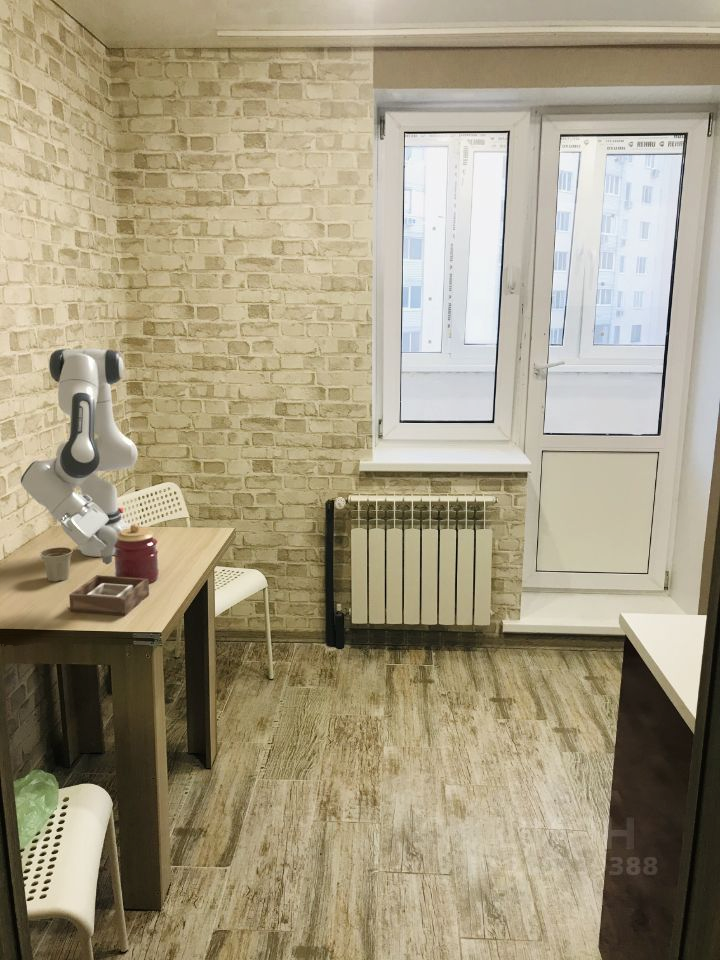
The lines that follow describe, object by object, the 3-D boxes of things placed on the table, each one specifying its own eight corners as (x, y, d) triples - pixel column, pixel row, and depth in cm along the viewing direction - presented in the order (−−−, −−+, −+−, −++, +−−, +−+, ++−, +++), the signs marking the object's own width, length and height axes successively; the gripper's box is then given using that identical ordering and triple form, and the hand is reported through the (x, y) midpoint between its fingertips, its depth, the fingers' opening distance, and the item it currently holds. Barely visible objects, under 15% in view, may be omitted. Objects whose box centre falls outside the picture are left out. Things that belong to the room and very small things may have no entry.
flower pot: (38, 584, 236) (36, 557, 234) (45, 573, 245) (43, 547, 243) (71, 583, 238) (69, 556, 236) (77, 572, 247) (75, 546, 245)
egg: (106, 559, 224) (104, 522, 222) (123, 562, 222) (121, 524, 219) (91, 565, 218) (89, 527, 216) (108, 568, 216) (106, 530, 214)
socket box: (97, 591, 231) (96, 575, 230) (149, 594, 229) (148, 578, 228) (70, 611, 216) (69, 594, 215) (125, 616, 214) (124, 598, 213)
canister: (114, 588, 234) (111, 531, 230) (115, 573, 246) (112, 519, 242) (159, 584, 238) (157, 528, 234) (158, 570, 250) (156, 517, 246)
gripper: (65, 511, 206) (105, 547, 208) (90, 493, 226) (125, 526, 228) (49, 528, 207) (89, 563, 209) (75, 508, 227) (111, 540, 229)
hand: (108, 544), depth 219 cm, fingers closed on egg, 6 cm apart
